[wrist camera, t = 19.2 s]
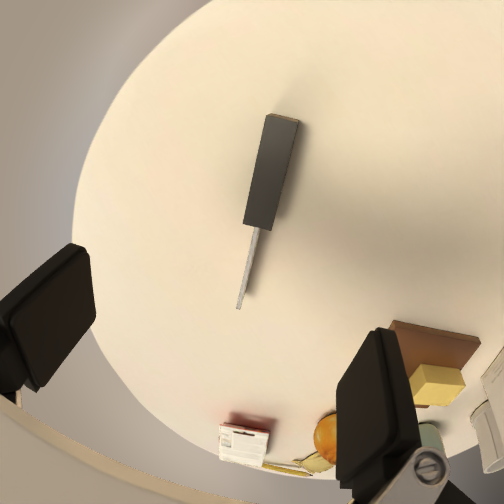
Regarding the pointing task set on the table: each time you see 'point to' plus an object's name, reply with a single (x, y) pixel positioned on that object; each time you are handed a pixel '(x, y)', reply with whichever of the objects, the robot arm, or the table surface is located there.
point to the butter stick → (436, 385)
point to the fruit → (326, 438)
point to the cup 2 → (488, 438)
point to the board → (432, 347)
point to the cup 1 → (431, 436)
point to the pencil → (285, 470)
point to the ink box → (243, 444)
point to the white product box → (496, 390)
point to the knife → (267, 181)
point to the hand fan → (315, 463)
